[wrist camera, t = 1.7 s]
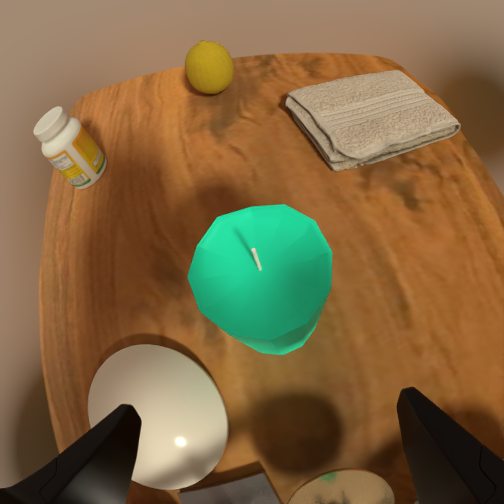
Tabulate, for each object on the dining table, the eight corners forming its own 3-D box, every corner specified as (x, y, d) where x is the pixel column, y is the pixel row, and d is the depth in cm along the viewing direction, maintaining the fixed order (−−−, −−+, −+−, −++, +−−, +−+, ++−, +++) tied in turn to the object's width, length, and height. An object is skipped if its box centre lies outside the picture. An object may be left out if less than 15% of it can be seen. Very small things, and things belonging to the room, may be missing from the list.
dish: (255, 466, 17) (253, 470, 16) (125, 493, 17) (119, 496, 16) (193, 323, 22) (189, 321, 21) (79, 369, 22) (73, 368, 21)
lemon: (187, 100, 33) (167, 50, 26) (216, 78, 34) (202, 29, 27) (218, 111, 31) (200, 55, 24) (248, 87, 32) (236, 33, 25)
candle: (328, 291, 22) (356, 204, 11) (299, 367, 20) (304, 361, 9) (254, 266, 23) (215, 167, 12) (223, 337, 21) (147, 296, 10)
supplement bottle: (81, 198, 29) (31, 147, 21) (68, 177, 31) (25, 130, 23) (115, 165, 30) (72, 108, 22) (99, 148, 32) (60, 97, 24)
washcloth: (279, 110, 31) (276, 89, 28) (396, 79, 31) (400, 61, 28) (335, 184, 26) (338, 162, 23) (457, 137, 26) (466, 119, 23)
